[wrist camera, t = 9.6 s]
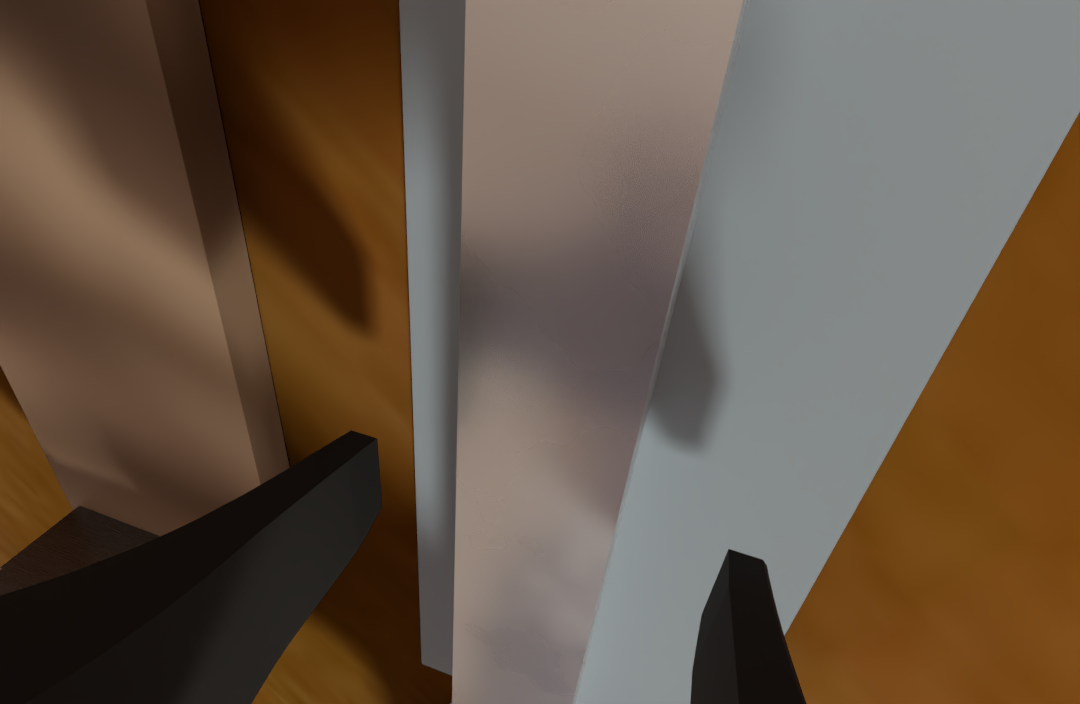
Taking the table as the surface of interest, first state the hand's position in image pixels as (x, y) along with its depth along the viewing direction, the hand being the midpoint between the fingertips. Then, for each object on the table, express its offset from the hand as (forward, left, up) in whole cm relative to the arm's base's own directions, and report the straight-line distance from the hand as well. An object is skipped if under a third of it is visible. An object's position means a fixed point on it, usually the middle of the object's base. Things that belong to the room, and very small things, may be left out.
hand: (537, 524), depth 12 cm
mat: (0, -1, -3) cm, 3 cm away
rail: (0, 0, -2) cm, 2 cm away
